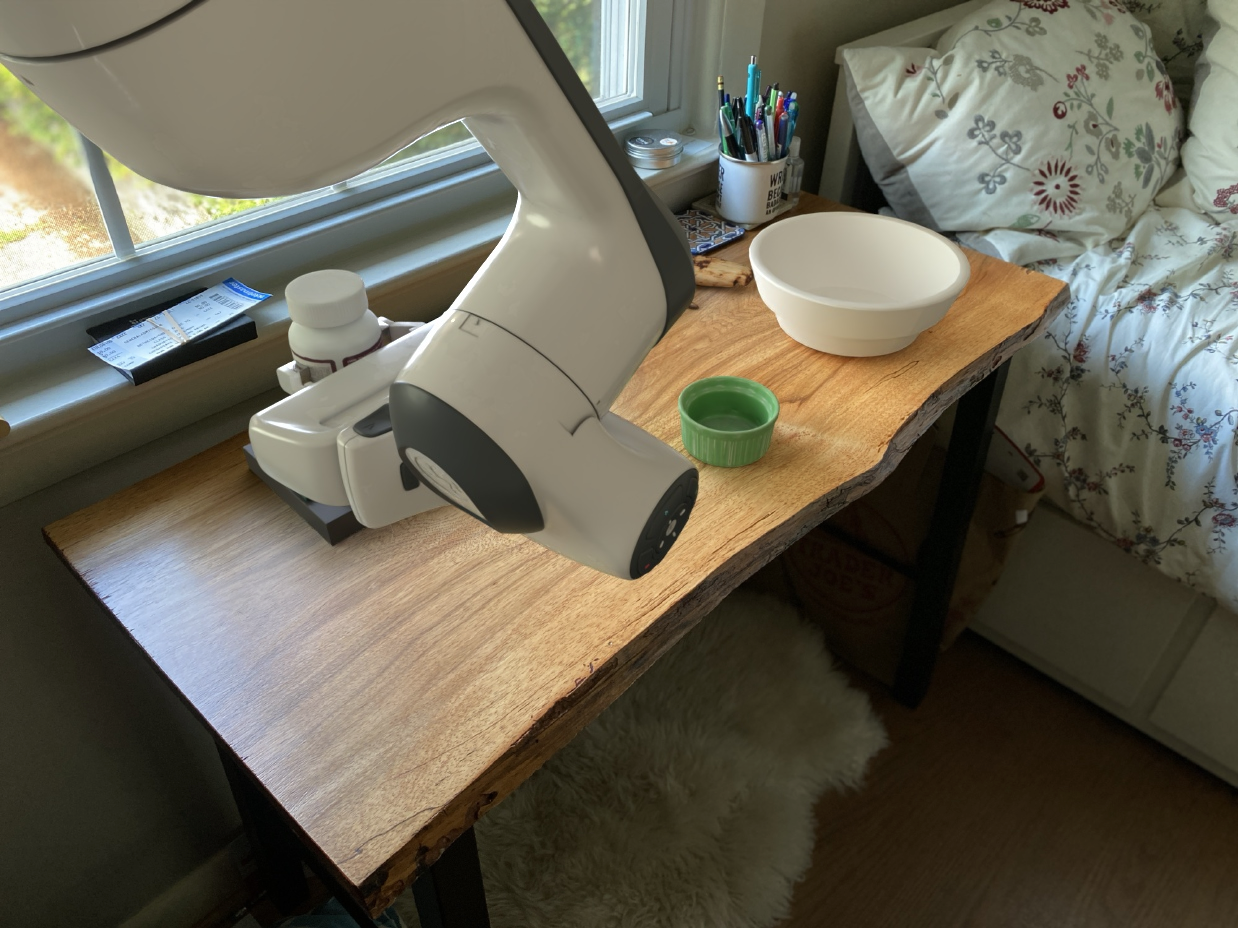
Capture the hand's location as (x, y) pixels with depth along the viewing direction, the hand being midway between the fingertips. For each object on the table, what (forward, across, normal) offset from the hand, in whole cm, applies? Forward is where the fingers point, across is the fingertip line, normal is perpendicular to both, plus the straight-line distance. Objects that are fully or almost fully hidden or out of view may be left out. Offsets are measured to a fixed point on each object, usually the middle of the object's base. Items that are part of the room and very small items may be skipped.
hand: (331, 351), depth 65 cm
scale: (+7, -6, +17) cm, 19 cm away
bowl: (-14, -54, +17) cm, 58 cm away
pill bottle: (-1, 0, +6) cm, 6 cm away
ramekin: (-16, -28, +17) cm, 36 cm away
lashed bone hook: (+6, -49, +17) cm, 53 cm away
